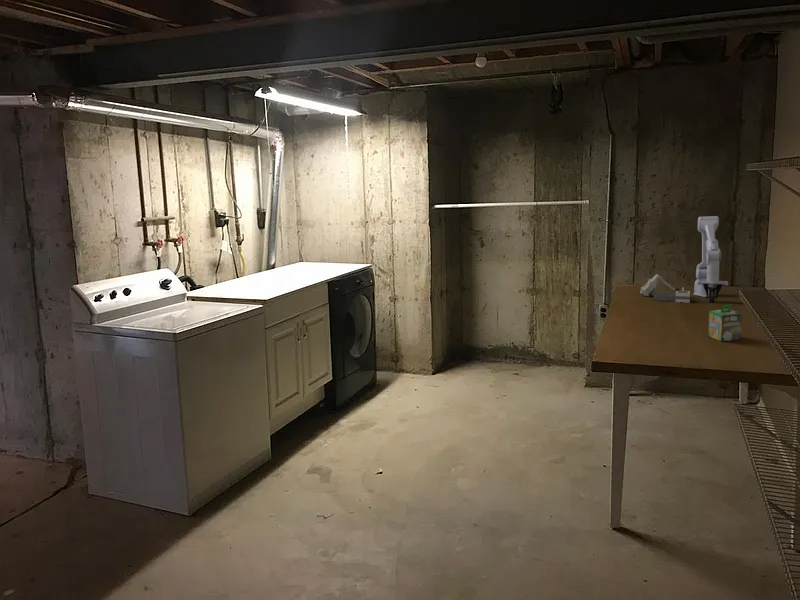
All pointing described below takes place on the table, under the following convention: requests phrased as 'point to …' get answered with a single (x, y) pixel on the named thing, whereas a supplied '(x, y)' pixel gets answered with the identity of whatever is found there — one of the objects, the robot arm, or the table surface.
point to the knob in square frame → (672, 296)
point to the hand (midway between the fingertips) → (711, 298)
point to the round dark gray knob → (711, 294)
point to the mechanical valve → (654, 286)
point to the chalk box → (725, 324)
